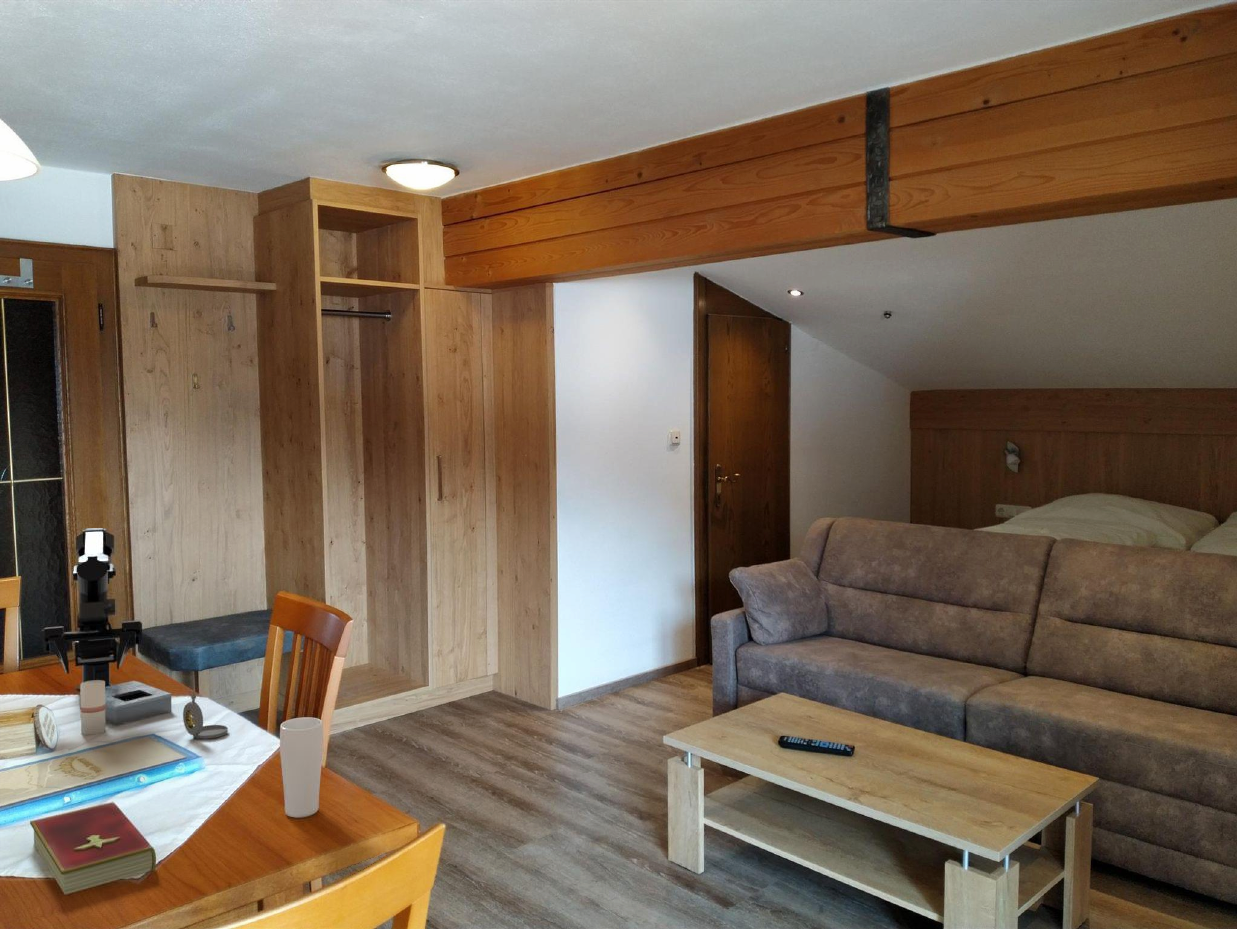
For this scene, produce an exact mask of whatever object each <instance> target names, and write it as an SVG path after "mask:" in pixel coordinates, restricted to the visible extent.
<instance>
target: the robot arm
mask: <svg viewBox="0 0 1237 929" xmlns="http://www.w3.org/2000/svg"><path fill="white" fill-rule="evenodd" d="M112 555H115V535H113V534H112V533H109V532H108V531H107V528H103V527H98V528H97V527H96V528H94V527H93V528H86V529H82V533H80V534H79V535H77V536H75V556H76V557H78V558H77V565H73V573H72V574H73V582H77V589H78V611H77V612H78V614H77V617H76V622H77V623H76V626H77V631H75V630H74V631H67V632H66V631H65V628H64V626H61V625H60V626H50V627H44V628H43V629H42V630H41V645H42V651H43V653H49V654H50V655H52V656H56V658H57V659H58V660H59V661H60V663H61V665H62V666H63V670H64V671H65V674H66V675H69V674H70V666H69V658H68V651H67V643H71V642H73V643H74V656H75V658H74V659H75V660H74V662H75V663H74V664H75V665H74V666H75V667H81V669H82V670H81V671H82V672H81V674H82V676H81V677H82V681H81V683H83V682H86V681H92V680H103V681H105V687H107V686H111V685H116V684H114V683H112V682H111V669H110V668H111V663H113V664H114V663H116V669H117V670H120V668H121V666H122V663H123V661H124V659H125V657H126V655H128V652H129V651H130V650H131V649H132V648H135V647H136V645H141V644H142V643H143V622H142V621H141V620H140V619H139V620H138V619H137V620H128V621H127V620H126V621H124V620H123V621H121V628H112V624H111V623H110V622H109V616H116V598H109V589H108V588H109V585H110V580H113V579H114V577H115V576H116V577H117V574H116V572H117V571H116V567H115V566H114V565H113V563H112ZM117 639H119V641H117ZM75 689H76V690H79V691H81V690H80V685H77V686H76V688H75Z"/></svg>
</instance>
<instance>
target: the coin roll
mask: <svg viewBox="0 0 1237 929" xmlns="http://www.w3.org/2000/svg"><path fill="white" fill-rule="evenodd" d="M79 686H80V690H79V691H80V692H81V706H80V705H79V708H80V707H81V711H80V733H81V734H82V735H86V736H91V735H92V736H93V735H97V734H101V733H102V734H103V733H104V732H105V731H106V727H107V726H106V721H105V708H106V703H105V681H103V680H92V681H86V682H83V683H82V682H81V683H80V685H79Z"/></svg>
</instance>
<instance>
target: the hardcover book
mask: <svg viewBox="0 0 1237 929" xmlns="http://www.w3.org/2000/svg"><path fill="white" fill-rule="evenodd" d="M29 824H30V826H31V827H32V829H33V845H34V846H35V848H36V849H37V851H38V853H39V855H40V857H41V858H42V860H43V861H44V862H45V864H46V866H47V867H48V869H49V871H50V872H51V874H52V875H53V878H54V879H55V881H56V882H57V884H58V885H59V887H60V890H61V891H62V892H63V894H64V895H69V894H72V893H76V892H80V891H83V890H86V889H90V888H94V887H97V886H100V885H104V884H108V883H111V882H115V881H119V880H122V879H125V878H130V877H133V876H136V875H140V874H143V873H146V872H150V871H151V872H154V871H156V868H157V867H156V865H157V857H156V856H157V855H156V850H155V849H154V847H153V846H152V845H151V844H150V842H149V841H148V840H147V838H146V837H144V835H143V834H142V833H141V832H140V831H139V830H138V828H137V827H136V826H135V825H134V824H133V823H132V821H131V820H130V819H129V818H128V817H127V815H126V814H124V812H123V811H122V810H121V809H120V808H119V806H118V805H117V804H116V803H115V801H111V802H106V803H102V804H101V803H100V804H98V805H93V806H89V807H86V808H80V809H77V810H73V811H68V812H64V813H59V814H54V815H50V816H46V817H42V818H38V819H33V820H30V821H29Z"/></svg>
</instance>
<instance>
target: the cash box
mask: <svg viewBox="0 0 1237 929" xmlns="http://www.w3.org/2000/svg"><path fill="white" fill-rule="evenodd" d="M133 698H134V699H133ZM128 699H131V700H128ZM105 703H106V708H105V722H107V723H109V724H111V725H114V726H121V725H123V724H127V723H128V724H129V723H131V722H136V721H140V720H144V719H147V718H151V717H156V716H159V715H163V714H168V713H171V712H172V693H171V692H167V691H165V690H162V689H159V688H156V687H154V686H150V685H148V684H146V683H143V682H140V681H136V680H131V681H126V682H121V683H117V684H115V685H111V686H107V687H105ZM80 706H81V691H80V692H79V711H80V710H81V707H80Z"/></svg>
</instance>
